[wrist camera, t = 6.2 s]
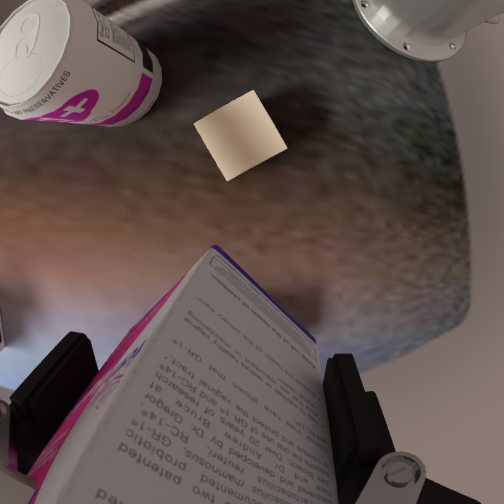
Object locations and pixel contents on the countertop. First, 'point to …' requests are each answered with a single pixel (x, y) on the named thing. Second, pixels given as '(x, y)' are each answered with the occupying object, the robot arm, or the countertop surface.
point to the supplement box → (199, 406)
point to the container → (1, 337)
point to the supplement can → (73, 66)
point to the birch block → (240, 135)
